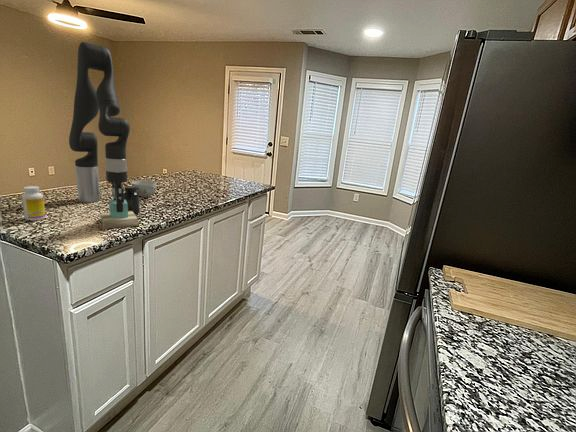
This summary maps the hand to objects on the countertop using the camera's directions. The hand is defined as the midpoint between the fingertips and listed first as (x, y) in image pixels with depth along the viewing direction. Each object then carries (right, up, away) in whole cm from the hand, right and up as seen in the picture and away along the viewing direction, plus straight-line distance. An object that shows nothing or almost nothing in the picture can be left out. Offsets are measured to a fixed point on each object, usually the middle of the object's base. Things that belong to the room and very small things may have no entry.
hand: (118, 209), depth 128 cm
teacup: (-10, +8, +46) cm, 47 cm away
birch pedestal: (-1, -5, +2) cm, 6 cm away
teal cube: (0, -3, +1) cm, 3 cm away
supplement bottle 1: (-31, -4, -4) cm, 32 cm away
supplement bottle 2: (-3, -1, +16) cm, 17 cm away
